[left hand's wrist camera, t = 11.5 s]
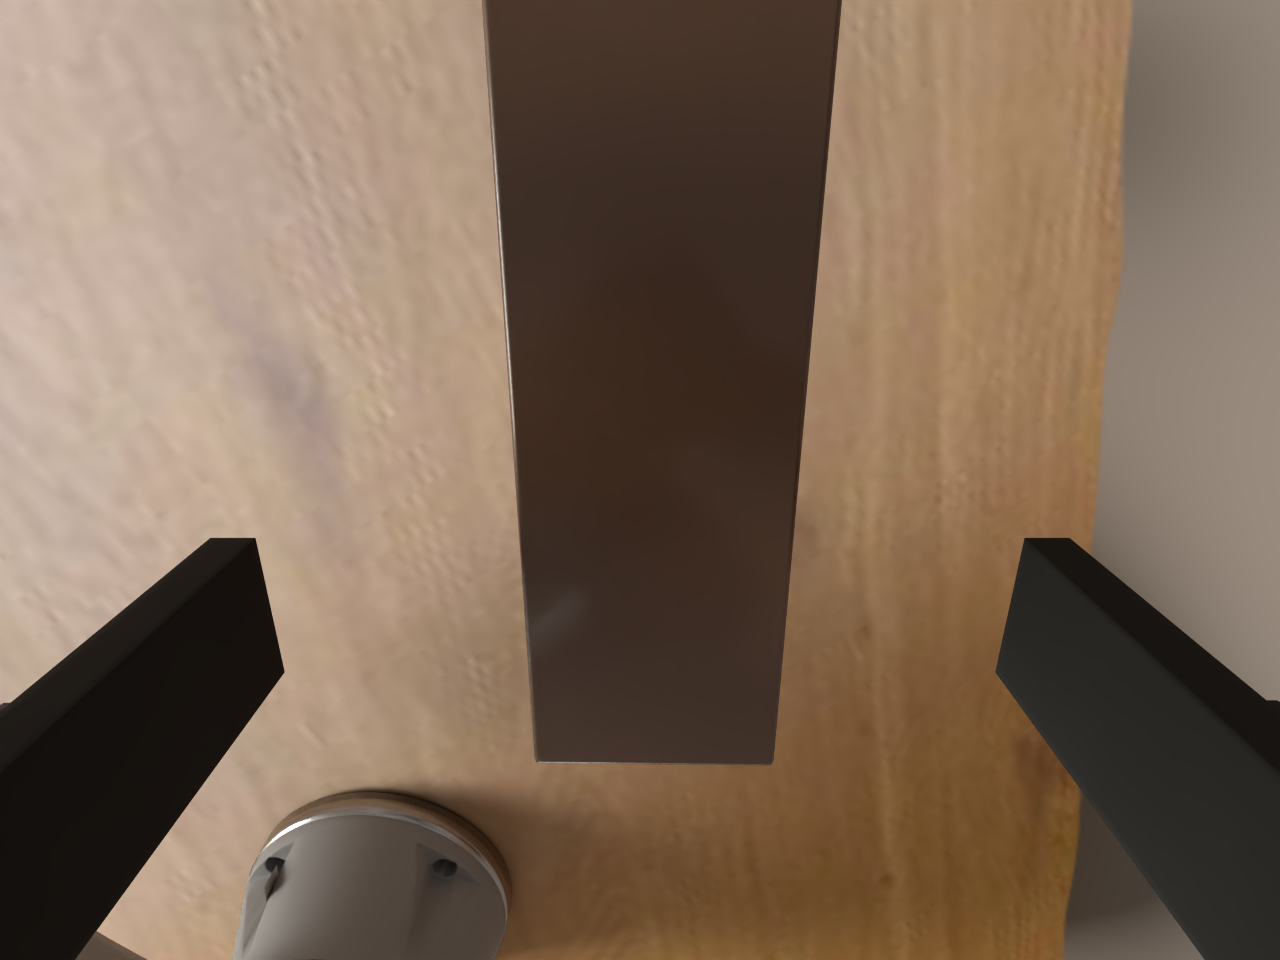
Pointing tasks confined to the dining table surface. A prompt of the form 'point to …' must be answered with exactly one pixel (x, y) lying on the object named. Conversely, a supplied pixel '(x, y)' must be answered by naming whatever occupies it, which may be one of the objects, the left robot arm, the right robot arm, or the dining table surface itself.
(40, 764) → the left robot arm
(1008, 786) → the dining table surface
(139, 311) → the dining table surface
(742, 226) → the beam
